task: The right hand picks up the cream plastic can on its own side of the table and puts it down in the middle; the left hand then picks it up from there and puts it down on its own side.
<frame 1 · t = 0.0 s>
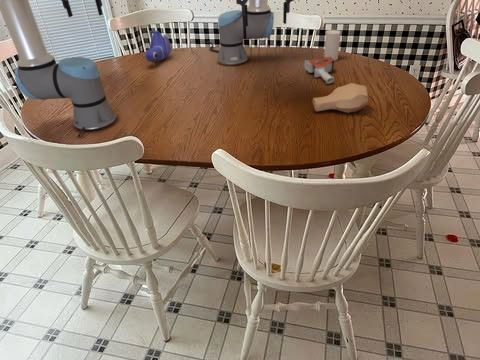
left hand: (85, 15, 157), 28 cm above the table, tool pointing down, fingers open, 13 cm apart
right hand: (265, 24, 127), 28 cm above the table, tool pointing down, fingers open, 13 cm apart
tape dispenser: (320, 75, 160), on the table
can: (330, 58, 179), on the table
squash: (339, 109, 131), on the table
toy: (158, 62, 189), on the table
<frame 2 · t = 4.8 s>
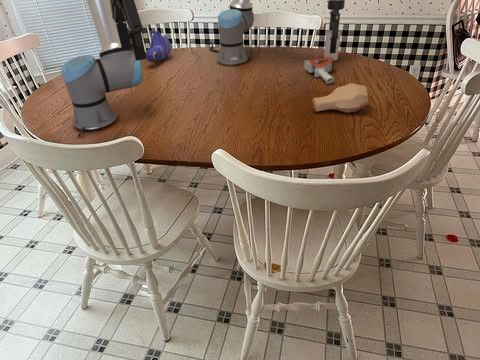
left hand: (133, 53, 97), 31 cm above the table, tool pointing down, fingers open, 13 cm apart
right hand: (331, 50, 176), 4 cm above the table, tool pointing down, fingers closed on can, 7 cm apart
can: (330, 58, 179), on the table, touching right hand
everything else where it was.
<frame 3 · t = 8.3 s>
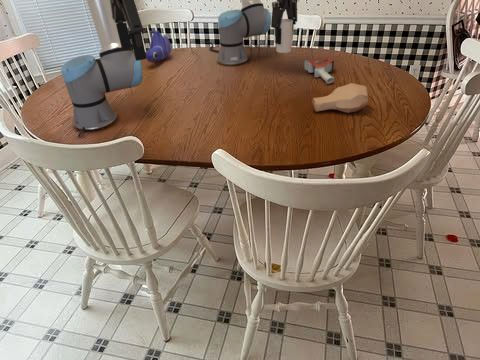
left hand: (133, 53, 97), 31 cm above the table, tool pointing down, fingers open, 13 cm apart
right hand: (283, 41, 159), 14 cm above the table, tool pointing down, fingers closed on can, 7 cm apart
can: (283, 50, 161), point 10 cm above the table, touching right hand
everything else where it was.
when the right hand's fingers open (6 cm above the table, at t = 12.0 s): can drops 2 cm, on the table.
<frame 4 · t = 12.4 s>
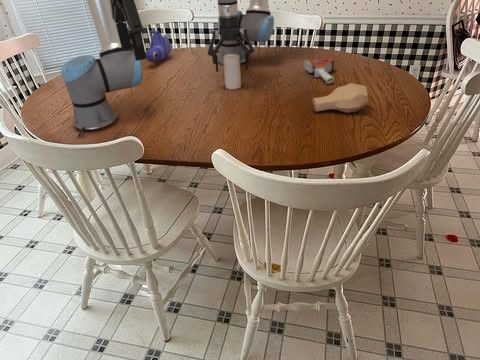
left hand: (133, 53, 97), 31 cm above the table, tool pointing down, fingers open, 13 cm apart
right hand: (232, 70, 151), 7 cm above the table, tool pointing down, fingers open, 12 cm apart
can: (233, 86, 155), on the table
everything else where it was.
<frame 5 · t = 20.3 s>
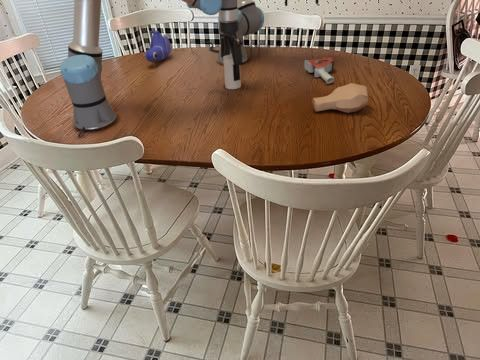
left hand: (232, 77, 153), 4 cm above the table, tool pointing down, fingers closed on can, 7 cm apart
right hand: (301, 4, 157), 27 cm above the table, tool pointing down, fingers open, 13 cm apart
can: (233, 86, 155), on the table, touching left hand
everything else where it was.
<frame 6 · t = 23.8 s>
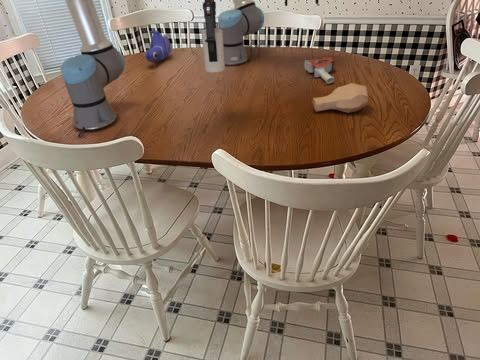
left hand: (213, 57, 122), 21 cm above the table, tool pointing down, fingers closed on can, 7 cm apart
right hand: (301, 4, 157), 27 cm above the table, tool pointing down, fingers open, 13 cm apart
can: (215, 69, 124), point 17 cm above the table, touching left hand
everything else where it was.
when the left hand's fingers open (6 cm above the table, at t = 27.8 s): can drops 2 cm, on the table.
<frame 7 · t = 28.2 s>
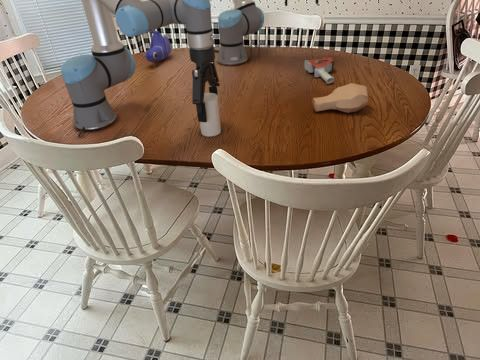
left hand: (208, 113, 119), 7 cm above the table, tool pointing down, fingers open, 12 cm apart
right hand: (301, 4, 157), 27 cm above the table, tool pointing down, fingers open, 13 cm apart
can: (211, 131, 123), on the table
everything else where it was.
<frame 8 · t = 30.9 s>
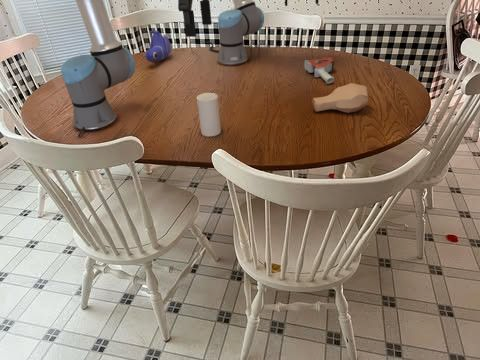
left hand: (199, 30, 103), 33 cm above the table, tool pointing down, fingers open, 13 cm apart
right hand: (301, 4, 157), 27 cm above the table, tool pointing down, fingers open, 13 cm apart
nothing on the table moved.
at the end: can inside the target area (0.0 cm from its centre), on the table; can tilted 0°; the two hands never held the can at the same time; the left hand is holding nothing; the right hand is holding nothing; can at rest at the end (0.0 cm/s) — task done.
